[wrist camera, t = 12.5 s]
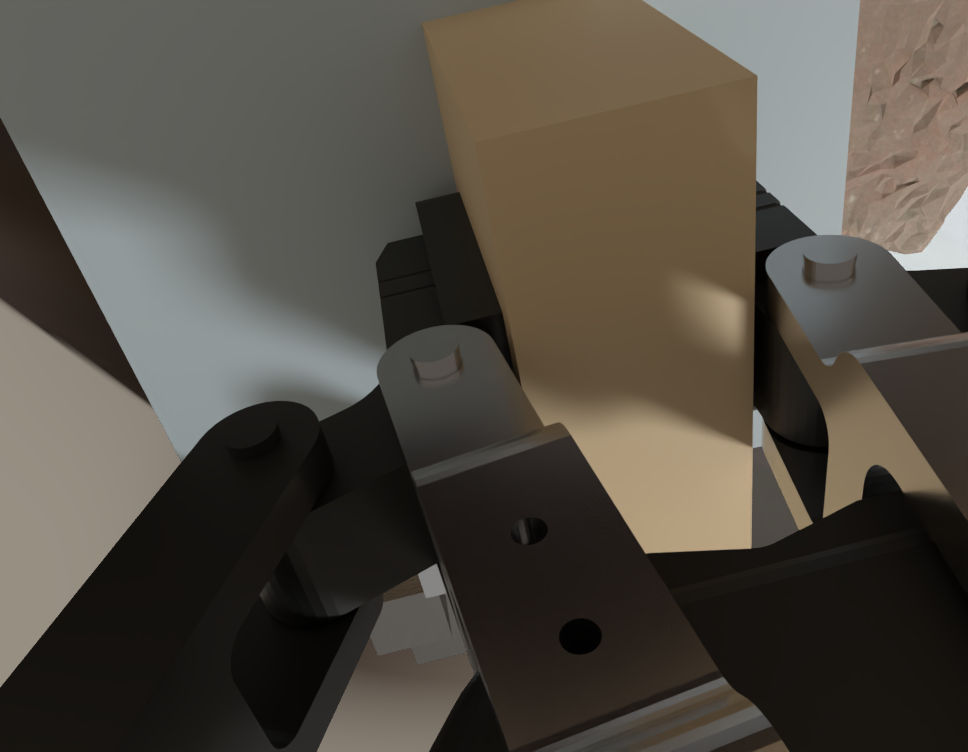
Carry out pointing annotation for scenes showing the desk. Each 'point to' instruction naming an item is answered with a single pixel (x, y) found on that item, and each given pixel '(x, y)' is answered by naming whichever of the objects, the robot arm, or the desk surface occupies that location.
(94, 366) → the desk surface
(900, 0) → the brick
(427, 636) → the grey angled block
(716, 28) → the lid
